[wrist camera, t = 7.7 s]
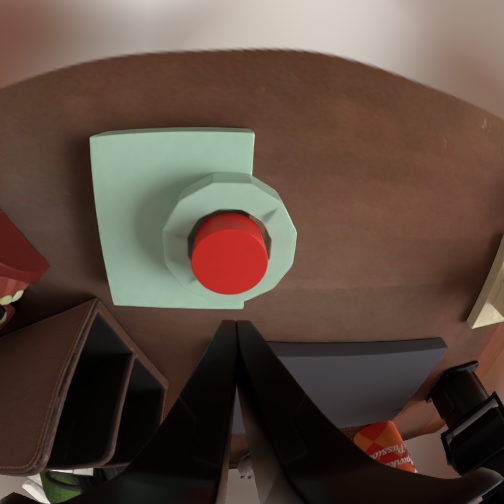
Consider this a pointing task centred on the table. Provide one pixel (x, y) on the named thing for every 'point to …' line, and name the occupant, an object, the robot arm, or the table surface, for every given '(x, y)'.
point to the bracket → (490, 295)
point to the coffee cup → (385, 445)
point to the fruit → (57, 489)
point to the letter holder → (75, 394)
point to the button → (229, 254)
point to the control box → (179, 211)
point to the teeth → (16, 267)
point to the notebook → (357, 377)
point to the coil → (84, 479)
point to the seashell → (246, 467)
